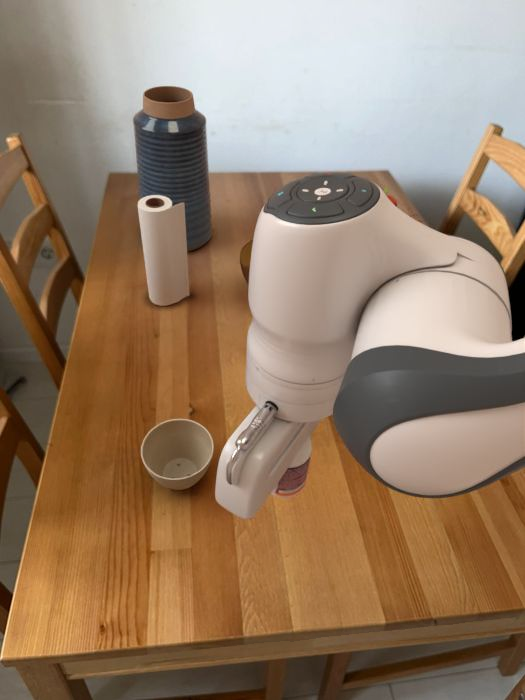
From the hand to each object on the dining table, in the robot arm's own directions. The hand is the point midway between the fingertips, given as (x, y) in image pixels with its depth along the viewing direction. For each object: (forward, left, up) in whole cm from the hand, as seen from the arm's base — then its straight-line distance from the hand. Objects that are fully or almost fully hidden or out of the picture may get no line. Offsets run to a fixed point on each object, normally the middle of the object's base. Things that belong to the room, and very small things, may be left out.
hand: (286, 462), depth 52 cm
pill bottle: (0, 0, -3) cm, 3 cm away
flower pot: (+18, -3, -23) cm, 29 cm away
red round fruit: (+22, -90, -23) cm, 95 cm away
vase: (+59, -54, -23) cm, 83 cm away
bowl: (+27, -48, -23) cm, 59 cm away
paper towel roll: (+46, -34, -23) cm, 61 cm away
